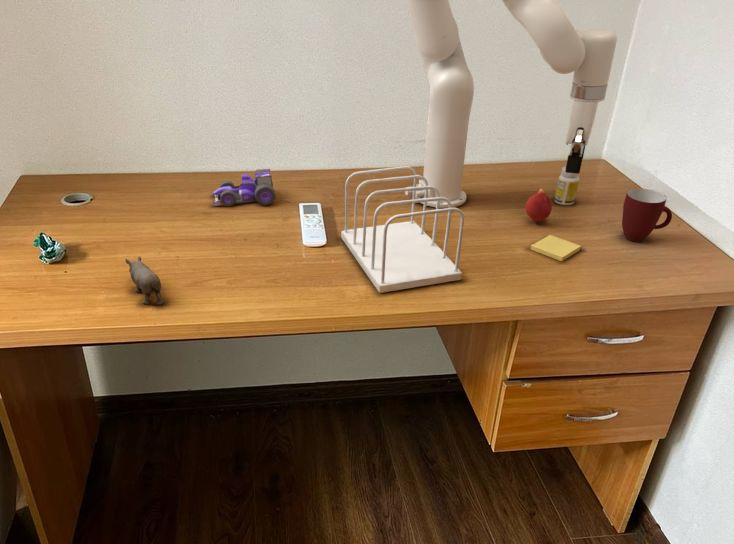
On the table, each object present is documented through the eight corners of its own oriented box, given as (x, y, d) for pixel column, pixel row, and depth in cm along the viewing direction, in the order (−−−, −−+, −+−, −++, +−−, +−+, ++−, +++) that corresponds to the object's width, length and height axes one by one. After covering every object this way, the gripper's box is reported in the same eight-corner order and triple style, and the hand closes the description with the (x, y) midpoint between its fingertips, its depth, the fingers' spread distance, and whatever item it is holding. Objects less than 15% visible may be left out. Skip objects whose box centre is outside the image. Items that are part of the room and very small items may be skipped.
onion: (549, 219, 156) (556, 186, 151) (547, 229, 151) (554, 195, 147) (524, 215, 157) (530, 183, 153) (521, 225, 153) (527, 192, 148)
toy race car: (213, 194, 167) (210, 168, 163) (272, 190, 169) (271, 165, 165) (213, 209, 159) (210, 183, 156) (275, 205, 162) (274, 179, 158)
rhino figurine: (143, 273, 134) (138, 246, 130) (168, 303, 124) (163, 275, 121) (123, 278, 132) (117, 251, 128) (146, 309, 122) (141, 281, 119)
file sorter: (340, 238, 147) (341, 170, 138) (413, 228, 151) (418, 161, 142) (379, 293, 127) (382, 218, 118) (461, 281, 131) (471, 207, 122)
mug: (654, 229, 151) (667, 187, 145) (671, 245, 145) (685, 202, 139) (609, 230, 151) (620, 188, 145) (623, 246, 144) (635, 203, 138)
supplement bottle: (575, 200, 165) (582, 167, 160) (572, 207, 162) (579, 173, 157) (555, 196, 167) (562, 164, 162) (552, 203, 163) (559, 170, 158)
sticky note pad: (561, 261, 138) (562, 257, 138) (530, 249, 143) (530, 245, 142) (580, 250, 143) (581, 245, 142) (549, 238, 147) (549, 234, 147)
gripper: (574, 80, 156) (561, 152, 166) (567, 100, 143) (553, 176, 153) (607, 83, 154) (592, 155, 164) (604, 102, 141) (588, 180, 151)
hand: (574, 165), depth 159 cm, fingers open, 9 cm apart
